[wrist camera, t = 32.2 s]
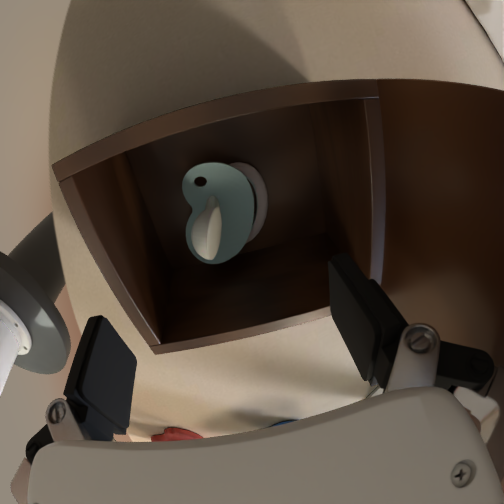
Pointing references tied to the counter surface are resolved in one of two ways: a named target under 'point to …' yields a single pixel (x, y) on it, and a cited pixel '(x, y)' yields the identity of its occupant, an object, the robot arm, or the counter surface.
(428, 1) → the counter surface
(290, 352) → the counter surface
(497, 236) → the lid
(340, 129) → the chest
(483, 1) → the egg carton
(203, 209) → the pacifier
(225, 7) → the counter surface
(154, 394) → the counter surface
